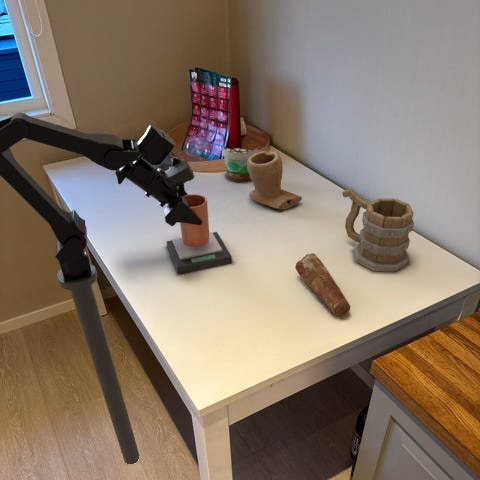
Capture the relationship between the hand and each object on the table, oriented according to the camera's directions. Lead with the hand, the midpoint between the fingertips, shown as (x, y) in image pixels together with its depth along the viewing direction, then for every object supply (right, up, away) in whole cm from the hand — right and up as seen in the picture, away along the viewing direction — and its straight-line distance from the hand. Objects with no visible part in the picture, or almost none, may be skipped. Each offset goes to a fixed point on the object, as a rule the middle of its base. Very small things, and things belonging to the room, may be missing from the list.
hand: (199, 216), depth 120 cm
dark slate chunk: (-19, +29, +50) cm, 61 cm away
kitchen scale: (-1, -9, +6) cm, 11 cm away
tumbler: (-1, -5, +4) cm, 7 cm away
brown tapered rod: (+30, -20, -7) cm, 37 cm away
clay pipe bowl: (+19, +10, +27) cm, 35 cm away
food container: (+10, +20, +40) cm, 46 cm away
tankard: (+44, -8, +6) cm, 45 cm away
